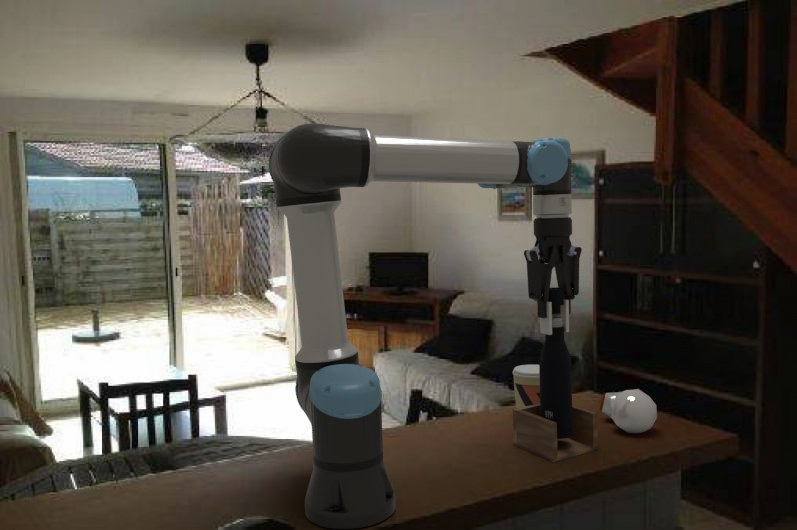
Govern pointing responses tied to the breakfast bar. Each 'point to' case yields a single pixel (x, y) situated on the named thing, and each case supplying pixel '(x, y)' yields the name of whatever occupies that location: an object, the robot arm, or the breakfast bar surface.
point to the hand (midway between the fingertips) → (554, 332)
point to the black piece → (556, 372)
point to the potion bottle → (630, 410)
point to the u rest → (554, 433)
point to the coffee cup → (526, 385)
